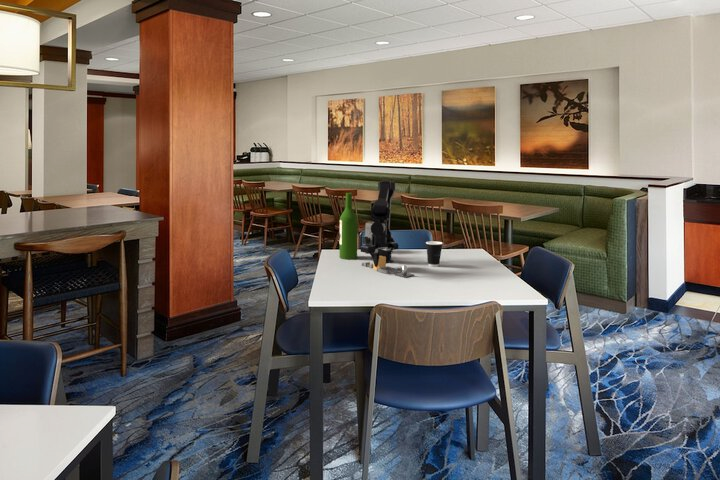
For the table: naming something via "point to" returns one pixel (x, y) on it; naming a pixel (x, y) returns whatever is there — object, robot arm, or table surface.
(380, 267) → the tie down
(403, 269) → the keeper
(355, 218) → the wine bottle
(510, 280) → the table surface
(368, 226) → the coffee box
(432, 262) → the dixie cup
